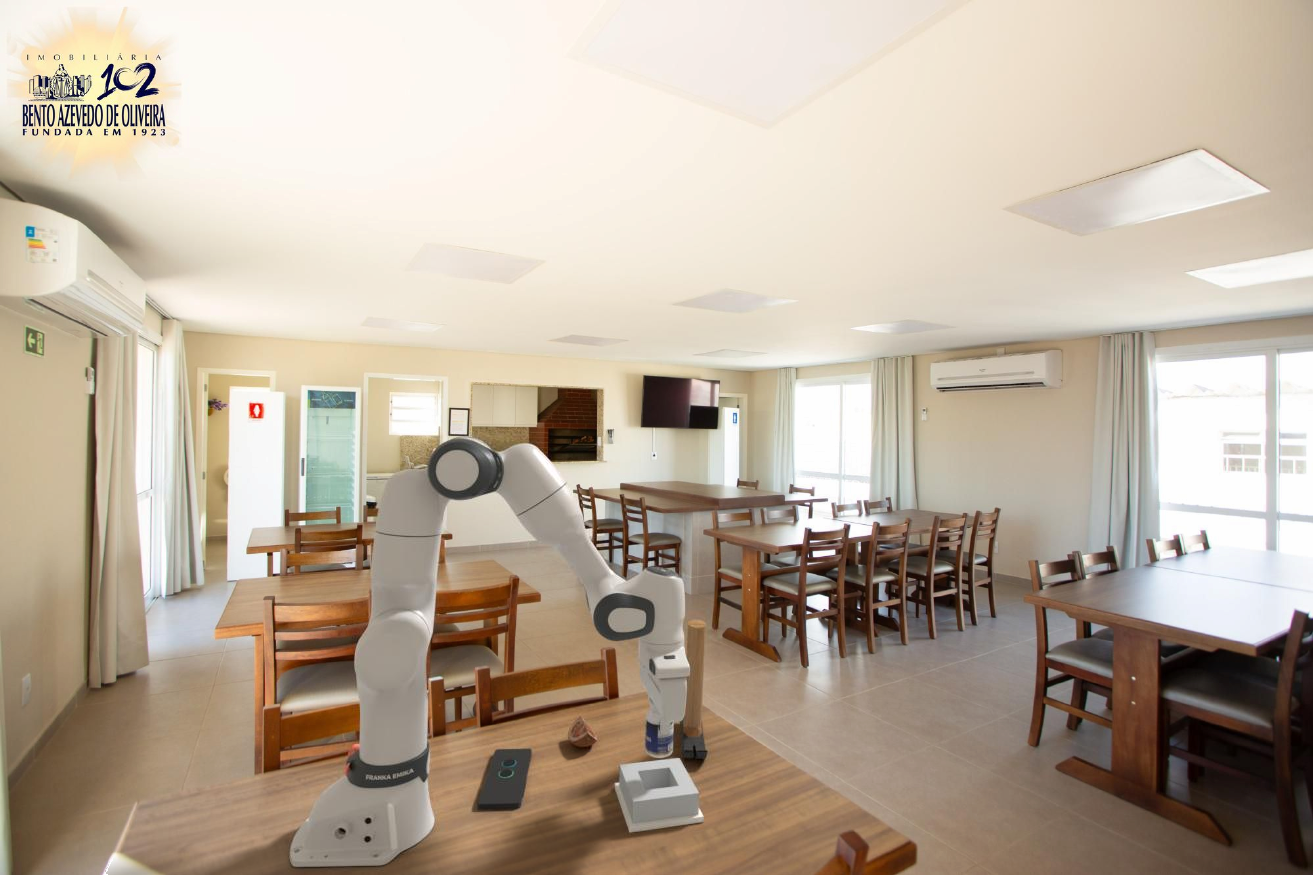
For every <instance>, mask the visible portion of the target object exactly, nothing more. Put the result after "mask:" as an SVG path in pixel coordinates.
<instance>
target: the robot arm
mask: <svg viewBox="0 0 1313 875" xmlns="http://www.w3.org/2000/svg"><path fill="white" fill-rule="evenodd" d="M492 493H496V494H498V495H499V496H501V497H502V498H503V500H504V501H505V502H506V504H507V505H508V506H509V507H510V509H511V511H512V512H513V513H514V515H515V517H516V518H517V520H518V521H519V522H520V524H521V525H522V527H524V529H525V530H526V531H527V532H528V533H529V534H530V535H531V536H532V537H533V538H534V539H535V540H536V541H537V542H538V543H539V544H541V545H544V546H546V547H550V548H552V549H553V550H555V551H557V553H559V554H560V555H561V556H562V557H563V558H564V559H565V561H566V563H567V564H568V565H569V566H570V568H571V569H572V571H573V572H574V574H575V576H577V578H578V580H579V581H580V583H581V584H582V586H583V588H584V590H585V598H586V604H587V607H588V610H589V612H590V615H591V618H592V621H593V622H592V623H593V625H594V627H595V630H596V631H597V632H598V634H599V635H600V636H601V637H602V638H604V639H606V640H608V641H612V642H623V641H629V640H634V639H638V651H637V653H638V656H637V657H638V659H637V661H638V663H639V678H640V682H641V684H642V686H643V687H644V689H645V691H646V693H647V697H648V702H649V705H650V700H651V699H652V701H653V703H654V705H655V706H656V708H657V710H658V711H659V713H660V716H661V718H660V722H659V731H660V733H661V734H668V733H669V732H670V723H671V722H674V723H677V722H679V723H680V721H682V720H683V718H684V715H685V707H686V694H687V681H686V676H689V674H690V666H689V663H688V661H687V658H686V648H685V633H684V628H683V626H684V625H683V624H684V620H685V616H686V595H685V584H684V580H683V578H682V577H681V576H680V575H679V574H678V573H677V572H676V571H674V570H672V569H669V568H665V567H662V566H648V567H645V568H644V569H643V570H642V571H641V572H640V573H639V574H637V575H635V576H633V577H632V578H630V579H628V578H626V577H625V576H624V575H622V574H620V573H619V572H617V571H615V570H614V569H612V568H611V567H610V565H609V564H608V563H607V562H606V561H605V559H604V558H603V556H602V555H601V553H600V552H599V550H598V549H597V547H596V546H595V545H594V543H593V541H592V540H591V538H590V536H589V534H588V532H587V530H586V526H585V520H584V514H583V512H582V508H581V507H580V504H579V502H578V500H577V498H576V496H575V493H574V491H573V490H572V489H571V487H570V485H569V484H568V482H567V481H566V480H565V478H564V476H563V475H562V474H561V472H560V471H559V470H558V469H557V467H556V466H555V465H554V464H553V462H552V461H551V460H550V459H549V458H548V457H547V456H546V454H544V453H543V451H542V450H540V448H538V446H536V445H534V444H533V443H526V442H525V443H524V442H523V443H518V444H513V445H512V446H510V447H508V448H505V449H504V450H502V451H496V450H494V449H493V448H492V447H491V446H490V445H489V444H488V443H487V442H486V441H483V440H481V439H480V438H476V437H473V436H468V435H464V436H463V435H462V436H461V435H460V436H456V437H453V438H451V439H449V440H447V441H444V442H442V443H440V445H438V446H437V447H436V448H435V449H434V450H433V451H432V453H431V455H430V457H429V459H428V462H427V467H425V468H420V469H419V468H409V469H403V470H399V471H397V472H395V473H393V474H392V475H391V476H389V478H388V479H387V481H386V483H385V485H384V489H383V491H382V494H381V499H380V503H379V507H378V510H377V516H376V523H375V529H374V537H373V547H372V553H371V554H372V555H371V565H370V572H369V574H370V576H369V577H370V582H371V606H370V607H371V608H370V609H371V610H370V611H371V612H370V618H369V621H368V624H367V627H366V629H365V631H364V632H363V633H362V635H361V636H360V638H359V640H358V642H357V644H356V647H355V653H354V664H353V665H354V666H353V667H354V671H355V675H356V676H355V677H356V678H355V679H356V688H357V694H358V699H359V702H358V703H359V710H360V711H359V713H360V714H359V717H360V718H359V719H360V720H359V743H354V744H352V745H351V747H350V748H349V751H348V753H347V759H346V762H345V763H346V764H345V768H344V769H345V771H344V772H345V773H344V775H343V776H342V777H340V778H339V779H338V780H336V781H335V782H333V783H332V784H331V785H329V786H328V787H327V788H325V789H324V791H322V792H321V794H320V795H319V796H318V798H317V799H316V801H315V803H314V804H313V807H312V808H311V811H310V813H309V816H308V817H307V819H306V820H304V822H303V823H302V824H301V825H300V827H299V828H298V829H297V831H296V833H295V835H294V837H293V838H292V842H291V844H290V848H289V861H290V863H291V865H292V867H295V868H304V867H305V868H306V867H307V868H308V867H309V868H310V867H314V868H315V867H317V868H318V867H356V866H357V867H359V866H361V867H365V866H368V867H369V866H371V867H372V866H383V865H386V864H388V863H390V862H391V861H392V860H393V859H395V857H397V856H398V855H399V854H400V853H402V852H404V851H405V850H409V848H412V847H414V846H415V845H417V844H418V843H420V842H421V841H422V840H423V839H425V838H426V836H428V834H430V832H431V831H432V830H433V827H434V824H435V814H434V812H433V809H432V808H433V807H432V805H431V798H430V793H429V783H428V778H429V774H430V767H431V766H430V765H431V750H430V742H429V741H428V721H429V719H428V717H429V699H428V689H427V688H428V685H427V656H428V651H429V646H430V642H431V639H432V636H433V633H434V623H435V614H436V613H435V612H436V599H437V585H438V584H437V582H438V581H437V579H438V571H439V570H438V569H439V560H440V553H441V552H440V550H441V543H442V542H441V541H442V535H443V534H442V532H443V523H444V516H445V511H446V508H447V506H448V504H449V502H450V501H468V500H472V499H475V498H479V497H481V496H484V495H488V494H492Z"/></svg>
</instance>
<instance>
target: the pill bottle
mask: <svg viewBox="0 0 1313 875" xmlns="http://www.w3.org/2000/svg"><path fill="white" fill-rule="evenodd" d="M660 718H661V716H660V713H659V711H658V710H657V708H656V706H655V705H654V703H653V701H652V699H651V700H650V704H649V710H648V711H647V712H646V714H645V730H644V731H645V732H644V733H645V736H644V737H645V738H644V739H645V740H644V749H645V750H644V751H645V753H646V754H647V755H648V756H650V757H652V758H656V759H663V758H667V757H669V756H671V755H672V754H673V750H674V723H675V722H671V723H670V732H669V733H668V734H661V733H660V731H659V722H660Z"/></svg>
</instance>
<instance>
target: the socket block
mask: <svg viewBox="0 0 1313 875" xmlns="http://www.w3.org/2000/svg"><path fill="white" fill-rule="evenodd" d="M614 791H615V793H616V797H617V799H618V802H619V805H620V809H621V812H622V814H623V818H624V820H625V824H626V826H627V830H628V832H629V833H630V834H631V833H635V832H643V831H651V830H658V829H663V828H671V827H677V826H683V825H684V826H685V825H690V824H691V825H692V824H697V823H698V824H700V823H704V822H705V821H704V820H705V819H704V818H705V817H704V815H703V812H702V811H701V809H700V802H699V801H700V792H699V789H698V788H697V787H696V785H695V783H694V782H693V780H692V778H691V776H690V775H689V772H688V771H687V769H686V768H685V766H684V764H683V761H682V760H681V758H680V757H675V758H667V759H659V760H650V761H642V762H641V761H640V762H633V763H623V764H619V780H618V782H614Z"/></svg>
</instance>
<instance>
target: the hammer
mask: <svg viewBox="0 0 1313 875" xmlns="http://www.w3.org/2000/svg"><path fill="white" fill-rule="evenodd" d="M706 632H707V623H706V622H705V621H704V620H702V619H692V620H689V621H688V622H687V635H686V636H687V637H686V653H685V655H686V658H687V661H688V663H689V666H690V674H689V676H686V681H687V694H686V707H685V715H684V718H683V720H682V721H679V728H680V740H681V748H682V756H683V759H694V758H695V759H701V760H702V759H707V755H708V750H706V744H705V738H704V737H705V736H704V730H703V729H704V727H703V721H702V720H703V719H702V716H703V714H702V713H703V698H704V697H703V693H704V675H705V654H706V653H705V652H706V636H707V633H706Z"/></svg>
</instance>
